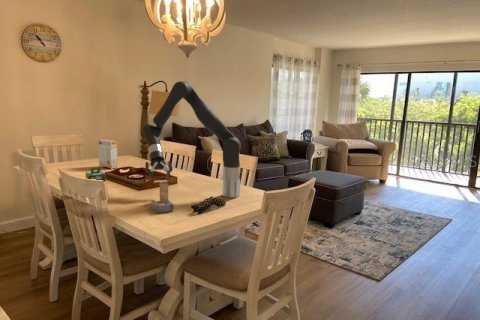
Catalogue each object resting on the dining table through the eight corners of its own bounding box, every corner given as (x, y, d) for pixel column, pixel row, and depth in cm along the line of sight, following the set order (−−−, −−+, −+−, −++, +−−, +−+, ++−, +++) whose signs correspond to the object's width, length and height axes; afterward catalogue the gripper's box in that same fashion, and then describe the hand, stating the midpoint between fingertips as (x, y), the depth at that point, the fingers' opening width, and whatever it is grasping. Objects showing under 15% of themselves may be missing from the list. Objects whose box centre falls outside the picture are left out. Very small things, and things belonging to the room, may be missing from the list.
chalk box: (103, 190, 204) (102, 165, 201) (106, 194, 196) (105, 167, 194) (85, 191, 199) (84, 166, 196) (88, 195, 191) (87, 169, 189)
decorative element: (220, 204, 186) (220, 193, 185) (227, 206, 183) (227, 195, 182) (189, 214, 169) (189, 202, 168) (196, 216, 166) (196, 204, 165)
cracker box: (117, 168, 265) (117, 140, 261) (111, 169, 260) (110, 141, 256) (105, 165, 272) (105, 139, 269) (99, 167, 267) (98, 139, 264)
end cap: (151, 206, 176) (151, 199, 176) (167, 205, 180) (167, 198, 179) (156, 213, 167) (156, 206, 166) (173, 211, 170) (173, 204, 170)
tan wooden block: (159, 200, 187) (159, 180, 186) (166, 200, 189) (166, 180, 187) (161, 202, 184) (161, 182, 182) (168, 202, 185) (168, 181, 184)
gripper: (144, 150, 192) (148, 175, 184) (169, 149, 199) (175, 173, 190) (142, 158, 198) (146, 182, 190) (167, 157, 204) (172, 181, 196)
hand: (161, 178), depth 190 cm, fingers open, 8 cm apart
